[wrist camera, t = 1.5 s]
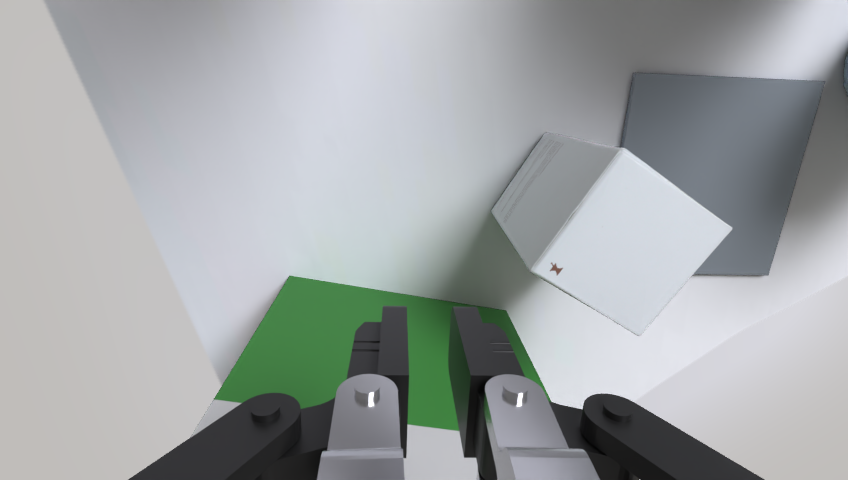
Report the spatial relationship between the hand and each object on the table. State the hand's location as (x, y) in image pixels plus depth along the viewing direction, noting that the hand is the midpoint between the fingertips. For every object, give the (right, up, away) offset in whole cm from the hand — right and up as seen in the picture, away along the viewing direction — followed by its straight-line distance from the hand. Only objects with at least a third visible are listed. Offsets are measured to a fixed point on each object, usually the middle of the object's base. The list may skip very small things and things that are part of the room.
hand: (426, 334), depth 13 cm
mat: (+21, +7, +21) cm, 31 cm away
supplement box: (+10, +6, +21) cm, 24 cm away
